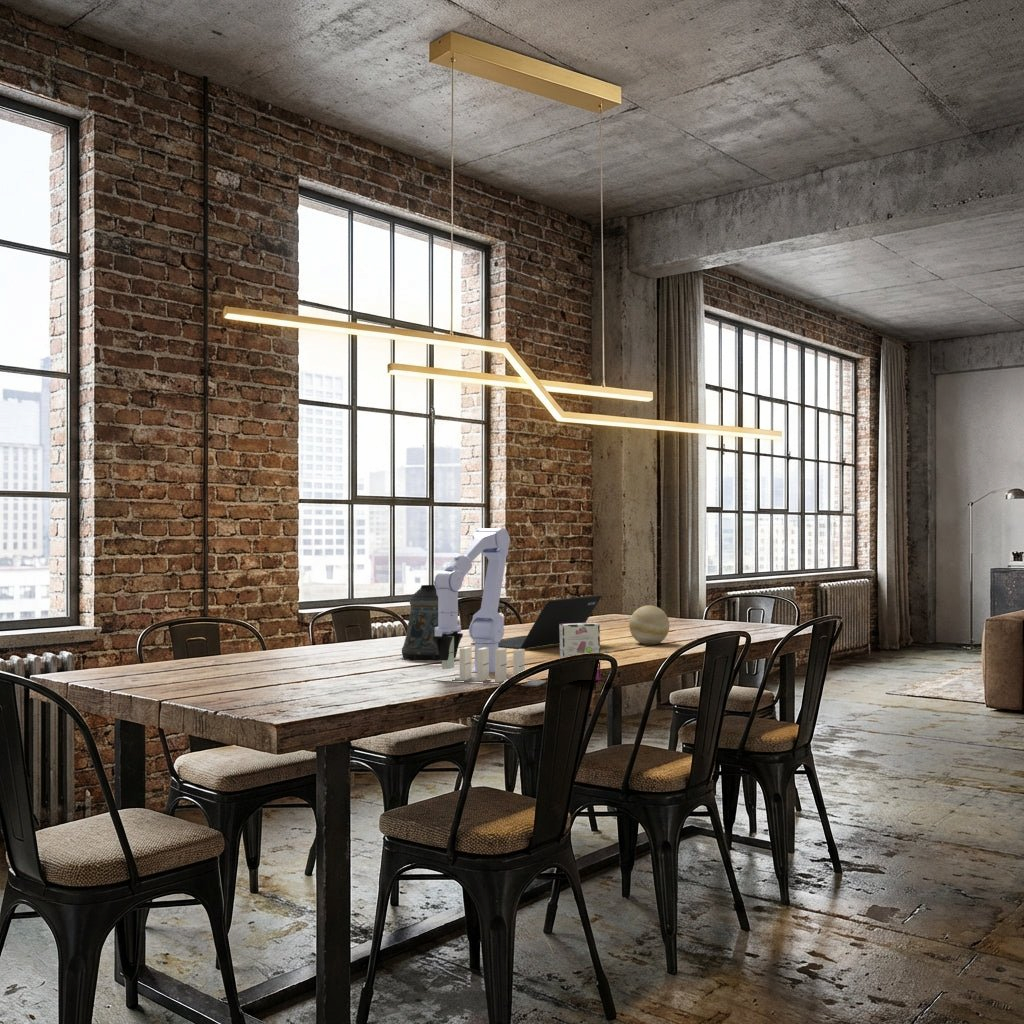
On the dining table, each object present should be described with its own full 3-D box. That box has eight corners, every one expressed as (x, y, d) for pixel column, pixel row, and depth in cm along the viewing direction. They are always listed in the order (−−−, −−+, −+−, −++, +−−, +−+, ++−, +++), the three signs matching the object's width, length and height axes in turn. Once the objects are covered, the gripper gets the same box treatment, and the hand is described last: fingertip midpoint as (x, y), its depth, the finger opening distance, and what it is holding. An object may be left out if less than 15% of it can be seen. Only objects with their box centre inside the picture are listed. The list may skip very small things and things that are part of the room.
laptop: (525, 640, 412) (525, 591, 412) (602, 646, 388) (602, 595, 388) (469, 647, 386) (469, 595, 387) (548, 655, 362) (548, 599, 363)
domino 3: (495, 681, 293) (495, 650, 294) (501, 679, 298) (501, 648, 298) (500, 682, 293) (500, 650, 293) (506, 679, 298) (506, 648, 298)
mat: (419, 680, 299) (419, 678, 299) (432, 676, 308) (432, 674, 308) (537, 686, 287) (537, 685, 287) (547, 682, 295) (547, 680, 295)
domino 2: (477, 680, 295) (477, 649, 296) (483, 678, 300) (483, 647, 300) (482, 681, 295) (482, 649, 295) (489, 678, 299) (488, 647, 300)
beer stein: (393, 662, 342) (393, 586, 342) (416, 655, 360) (416, 583, 361) (440, 663, 337) (440, 587, 337) (460, 656, 356) (460, 584, 356)
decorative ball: (648, 642, 400) (647, 603, 400) (677, 645, 388) (677, 605, 388) (621, 645, 390) (620, 605, 390) (650, 648, 378) (650, 607, 379)
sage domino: (441, 668, 299) (442, 637, 299) (448, 666, 304) (449, 636, 304) (447, 669, 299) (447, 638, 299) (454, 667, 303) (454, 636, 303)
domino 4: (513, 682, 291) (513, 650, 292) (519, 680, 296) (519, 648, 296) (518, 683, 291) (518, 650, 291) (524, 680, 296) (524, 649, 296)
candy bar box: (596, 678, 303) (595, 622, 303) (600, 680, 298) (600, 623, 298) (559, 679, 301) (558, 623, 301) (563, 681, 296) (563, 624, 296)
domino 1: (459, 679, 297) (459, 648, 297) (466, 677, 302) (466, 646, 302) (464, 680, 297) (464, 648, 297) (471, 677, 301) (471, 646, 302)
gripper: (445, 610, 310) (445, 655, 310) (425, 613, 296) (425, 661, 296) (467, 610, 307) (467, 656, 307) (447, 614, 294) (447, 662, 293)
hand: (448, 659), depth 301 cm, fingers closed on sage domino, 5 cm apart
